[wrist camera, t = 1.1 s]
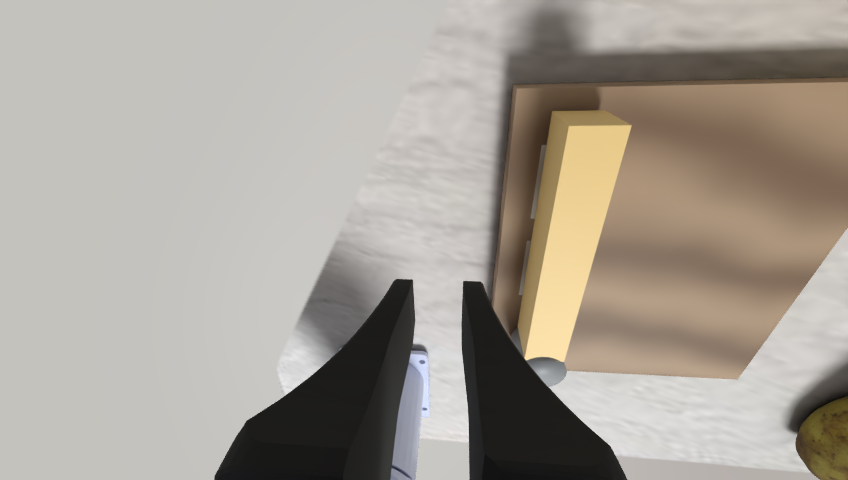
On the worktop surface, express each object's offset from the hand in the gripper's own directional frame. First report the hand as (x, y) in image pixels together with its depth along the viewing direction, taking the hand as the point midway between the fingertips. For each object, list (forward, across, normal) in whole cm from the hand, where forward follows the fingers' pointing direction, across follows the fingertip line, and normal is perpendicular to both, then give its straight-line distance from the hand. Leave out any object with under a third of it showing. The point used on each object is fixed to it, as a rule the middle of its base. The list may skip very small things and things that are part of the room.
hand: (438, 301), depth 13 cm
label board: (+10, -13, +4) cm, 17 cm away
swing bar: (+8, -6, +4) cm, 11 cm away
